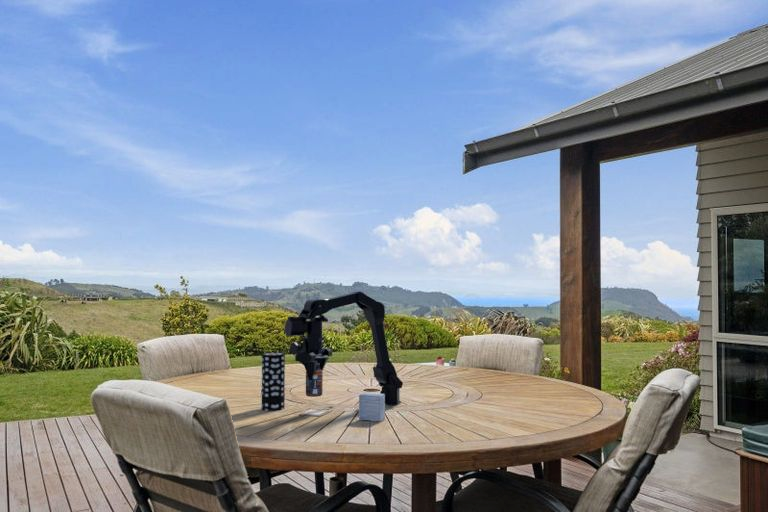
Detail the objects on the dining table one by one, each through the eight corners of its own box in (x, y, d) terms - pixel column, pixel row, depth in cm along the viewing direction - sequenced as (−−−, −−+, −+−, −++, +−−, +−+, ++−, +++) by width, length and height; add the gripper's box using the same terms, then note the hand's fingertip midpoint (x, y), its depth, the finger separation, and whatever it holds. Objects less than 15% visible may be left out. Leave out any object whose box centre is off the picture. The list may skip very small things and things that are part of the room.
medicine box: (385, 419, 207) (385, 393, 207) (380, 422, 203) (380, 395, 203) (363, 417, 209) (363, 392, 210) (358, 420, 205) (358, 394, 206)
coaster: (328, 412, 219) (328, 410, 219) (319, 416, 211) (319, 415, 211) (308, 410, 221) (308, 409, 221) (298, 415, 214) (298, 413, 214)
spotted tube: (288, 407, 227) (289, 353, 228) (275, 411, 219) (276, 355, 220) (270, 405, 230) (270, 352, 231) (256, 409, 223) (257, 354, 224)
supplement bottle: (319, 397, 213) (319, 364, 214) (303, 396, 214) (303, 364, 215) (324, 394, 219) (324, 362, 219) (308, 393, 220) (308, 362, 221)
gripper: (305, 332, 229) (305, 374, 228) (281, 336, 211) (281, 382, 211) (332, 332, 225) (332, 375, 225) (310, 337, 208) (310, 383, 207)
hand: (314, 378), depth 217 cm, fingers closed on supplement bottle, 6 cm apart
